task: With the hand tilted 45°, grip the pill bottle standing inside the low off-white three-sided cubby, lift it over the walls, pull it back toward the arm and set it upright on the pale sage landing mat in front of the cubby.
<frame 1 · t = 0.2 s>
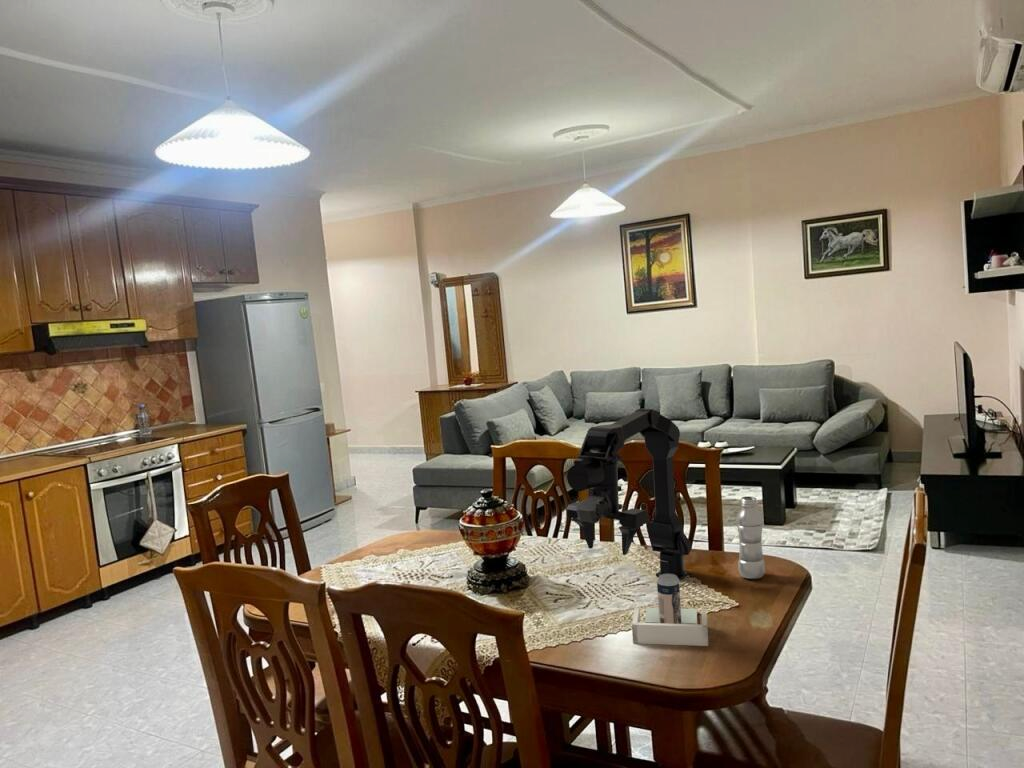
hand: (607, 551, 165), 14 cm above the table, tool pointing down, fingers open, 9 cm apart
plastic bottle: (751, 577, 182), on the table
cubby: (670, 631, 155), on the table
pill bottle: (670, 632, 155), on the table
landing mat: (671, 618, 162), on the table
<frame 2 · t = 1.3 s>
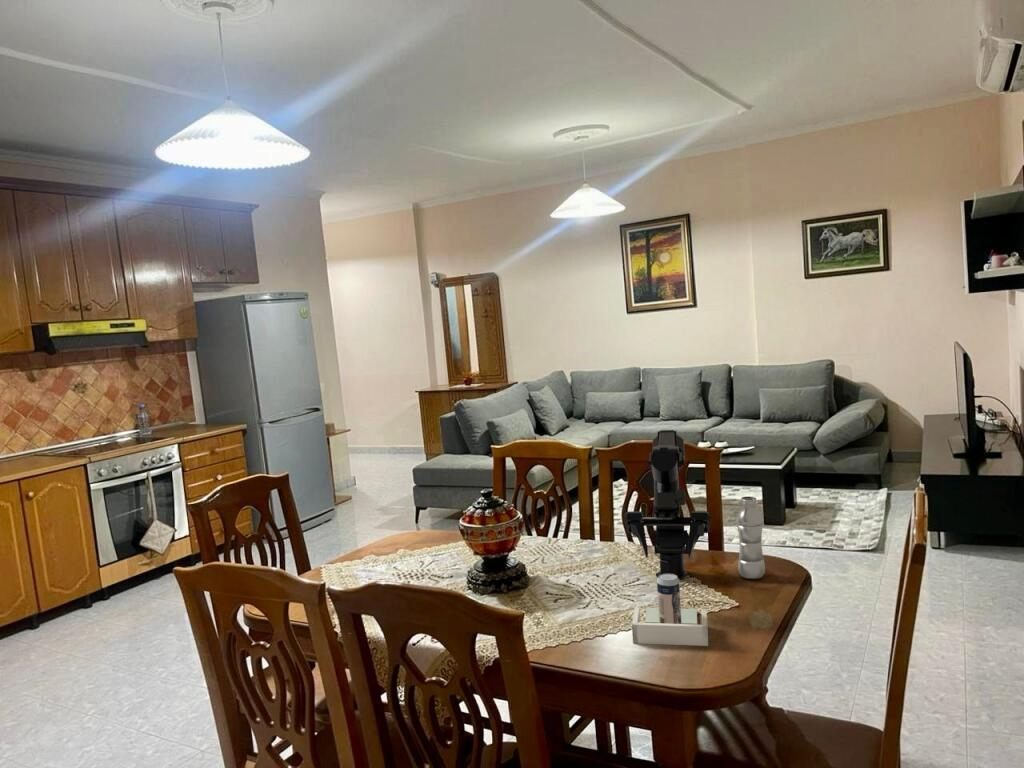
hand: (667, 556, 162), 14 cm above the table, tool tilted 45°, fingers open, 9 cm apart
nothing on the table moved.
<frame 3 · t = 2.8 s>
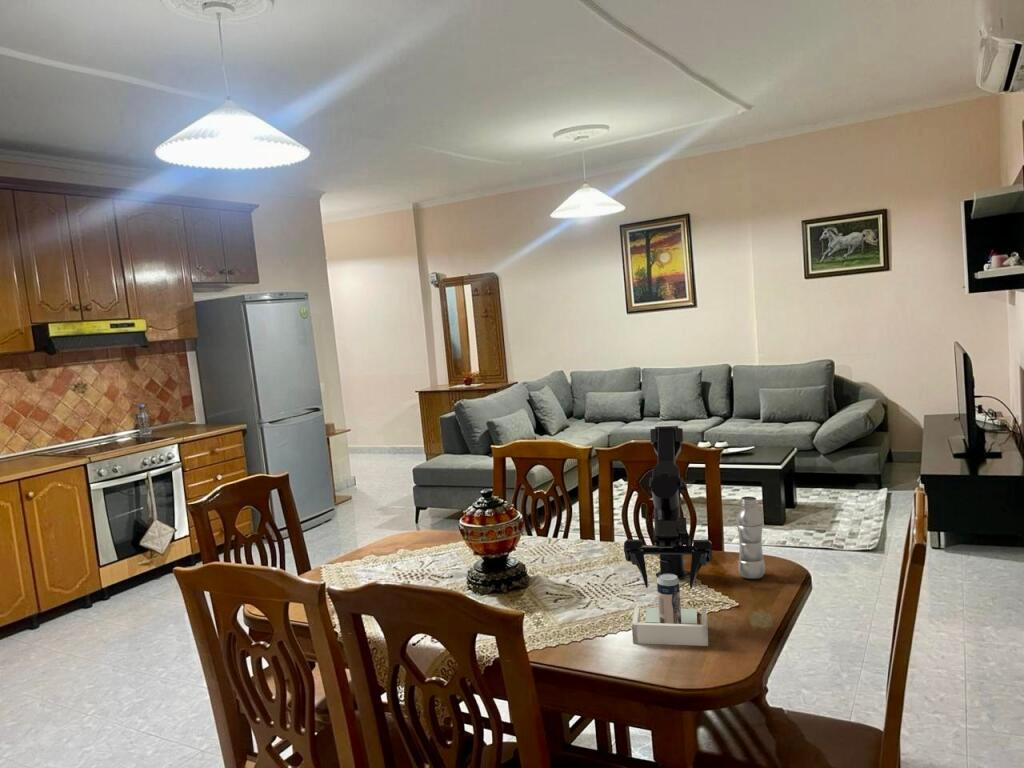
hand: (668, 587, 156), 9 cm above the table, tool tilted 45°, fingers open, 9 cm apart
nothing on the table moved.
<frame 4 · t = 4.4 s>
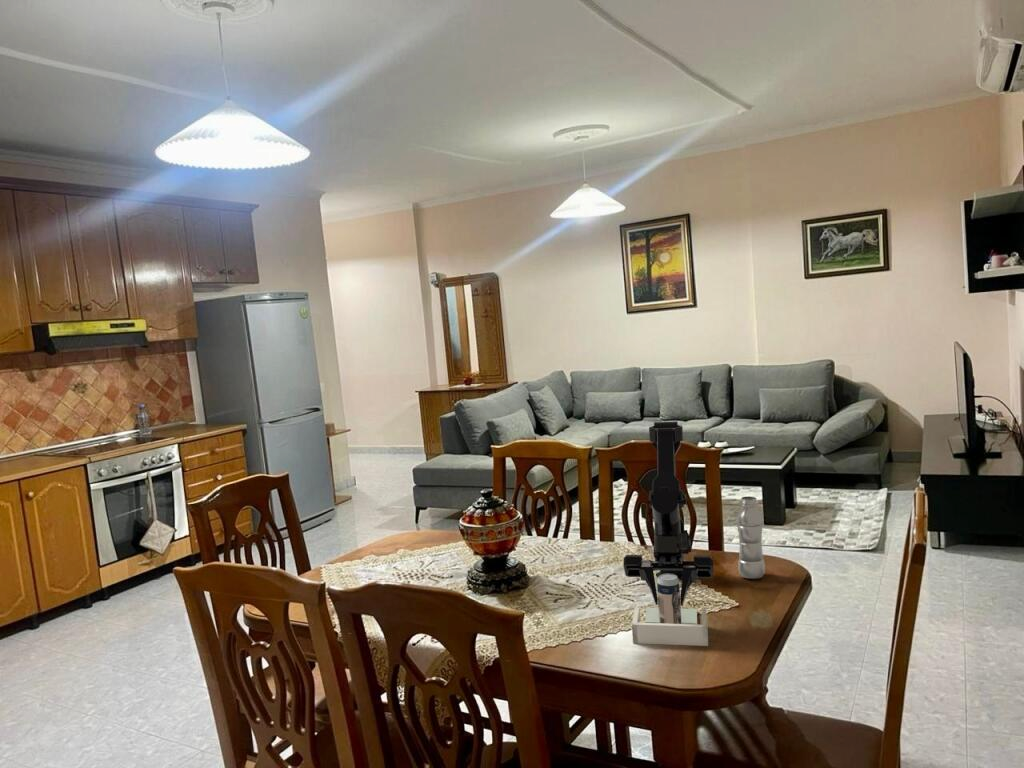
hand: (669, 604, 153), 7 cm above the table, tool tilted 45°, fingers closed on pill bottle, 5 cm apart
pill bottle: (670, 632, 155), on the table, touching gripper
everything else where it was.
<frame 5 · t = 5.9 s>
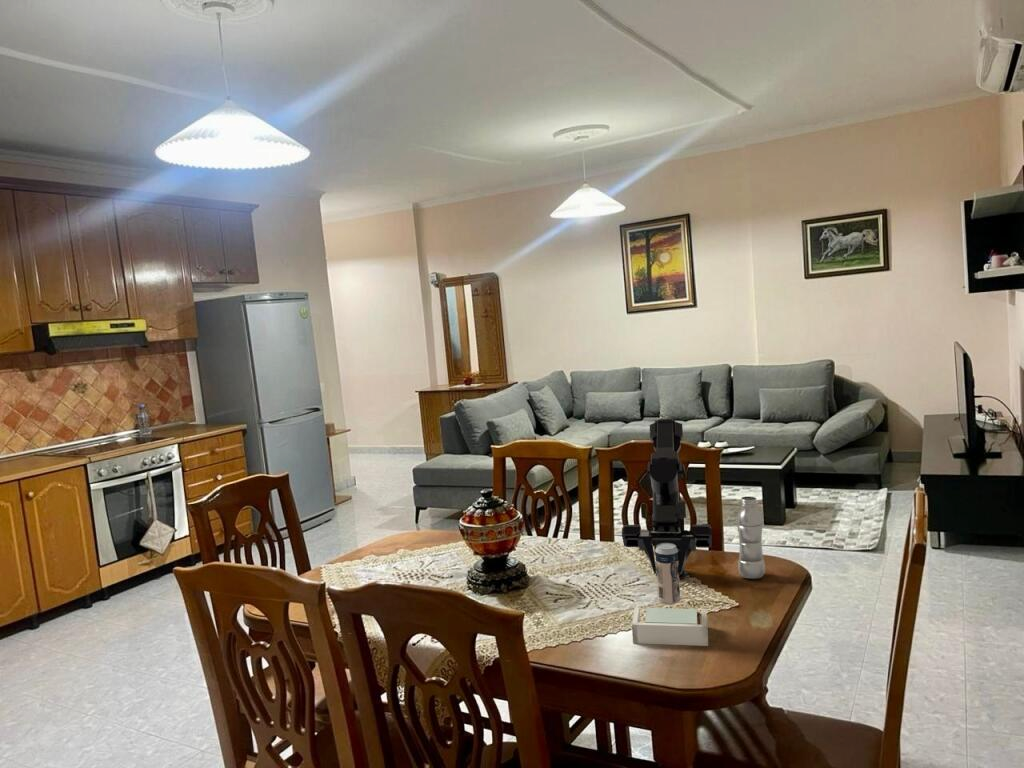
hand: (667, 573, 153), 13 cm above the table, tool tilted 45°, fingers closed on pill bottle, 5 cm apart
pill bottle: (669, 602, 155), point 6 cm above the table, touching gripper
everything else where it was.
when the fingers open (8 cm above the table, at t = 7.6 s): pill bottle stays where it is, resting on landing mat.
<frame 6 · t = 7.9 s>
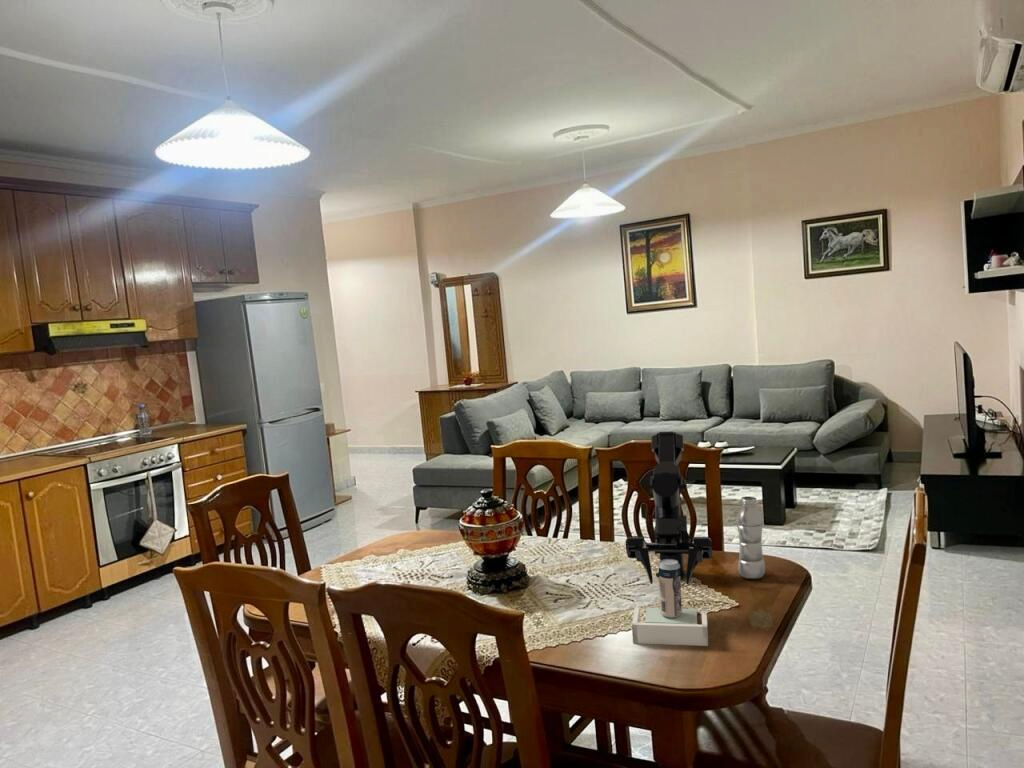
hand: (669, 583, 160), 8 cm above the table, tool tilted 45°, fingers open, 7 cm apart
pill bottle: (671, 615, 162), resting on landing mat
everything else where it was.
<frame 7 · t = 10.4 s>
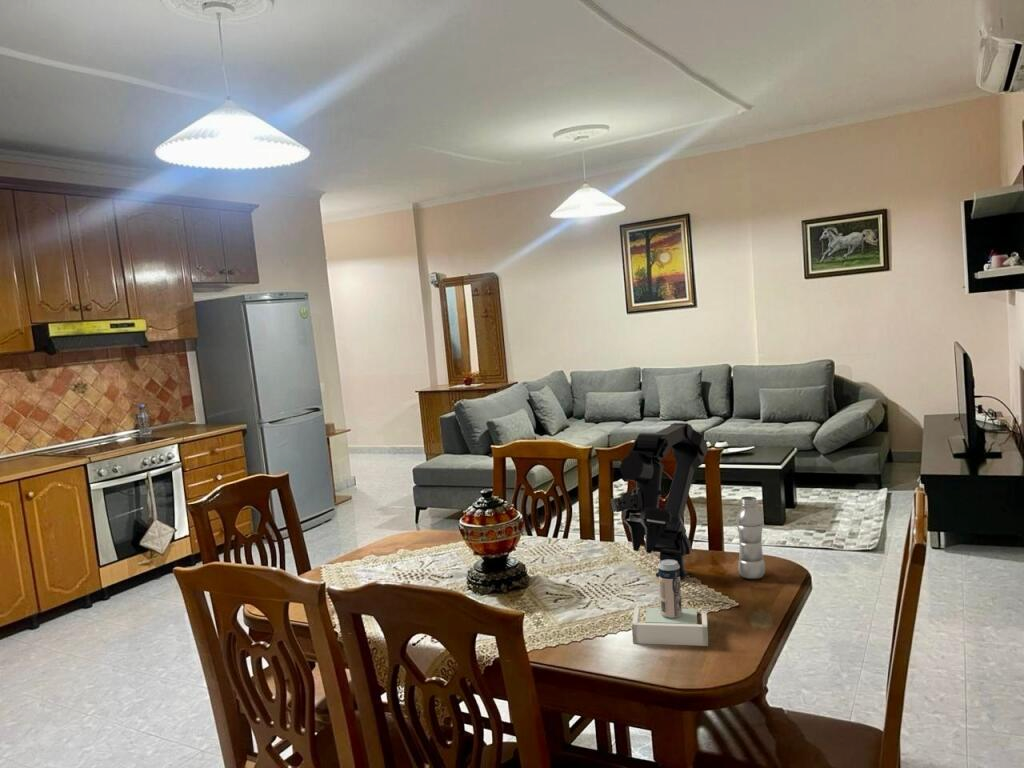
hand: (642, 551, 172), 11 cm above the table, tool tilted 20°, fingers open, 9 cm apart
nothing on the table moved.
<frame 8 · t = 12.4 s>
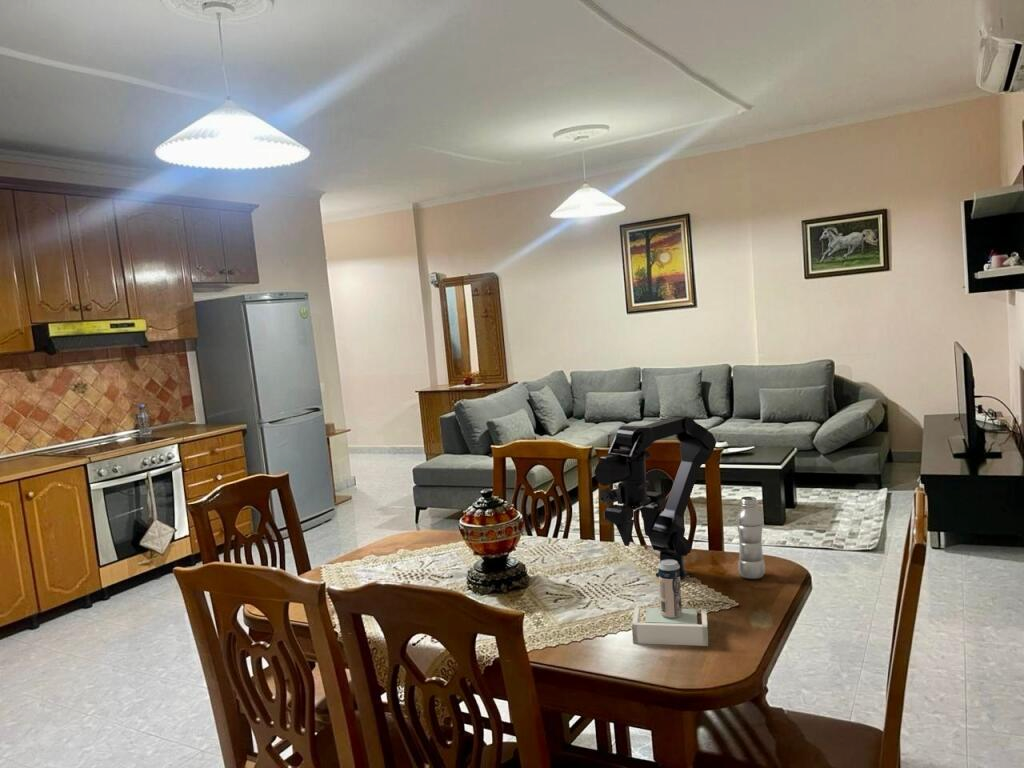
hand: (637, 540, 179), 12 cm above the table, tool pointing down, fingers open, 9 cm apart
nothing on the table moved.
at the end: pill bottle 0.2 cm from the landing mat (horizontally); pill bottle tilted 0°; pill bottle touching landing mat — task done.
